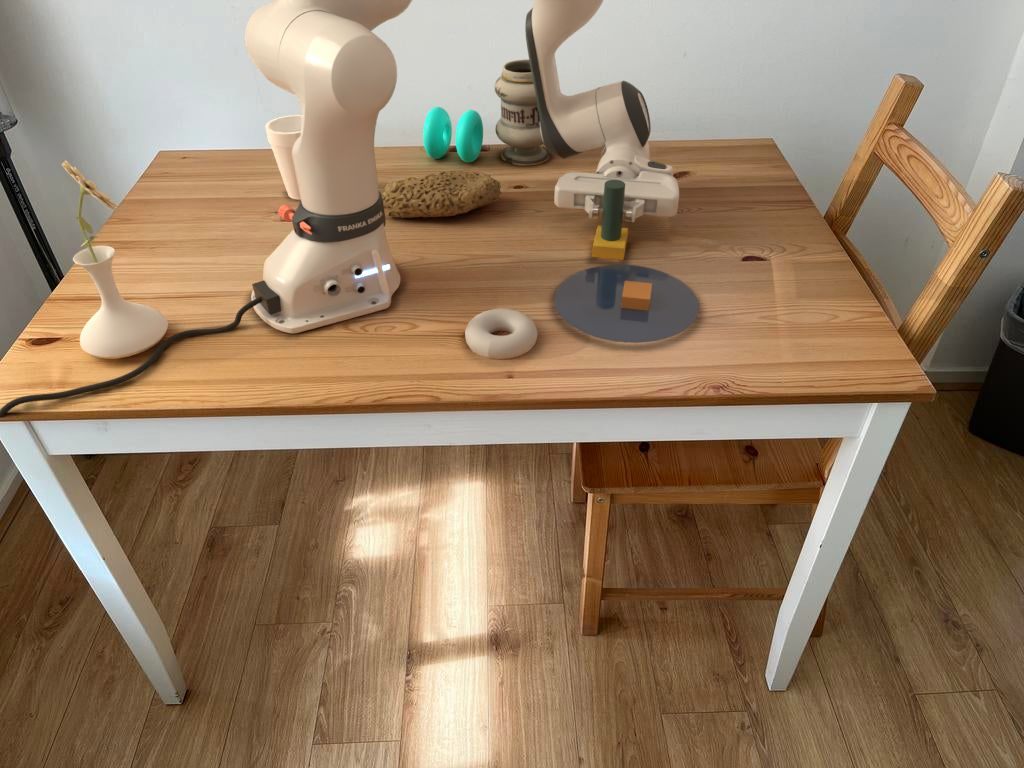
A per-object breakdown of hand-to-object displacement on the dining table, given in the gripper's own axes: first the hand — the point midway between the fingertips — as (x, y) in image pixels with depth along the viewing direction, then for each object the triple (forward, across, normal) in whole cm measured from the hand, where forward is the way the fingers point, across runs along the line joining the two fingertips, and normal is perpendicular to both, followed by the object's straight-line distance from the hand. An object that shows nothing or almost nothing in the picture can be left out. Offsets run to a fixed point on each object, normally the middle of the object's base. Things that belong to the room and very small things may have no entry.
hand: (611, 216), depth 121 cm
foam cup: (-13, -59, +7) cm, 61 cm away
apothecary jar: (-38, -21, +7) cm, 44 cm away
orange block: (+14, +6, +6) cm, 17 cm away
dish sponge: (-1, 0, +7) cm, 7 cm away
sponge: (-11, -31, +7) cm, 33 cm away
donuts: (-34, -35, +7) cm, 49 cm away
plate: (+15, +4, +7) cm, 17 cm away
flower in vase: (+36, -64, +7) cm, 74 cm away
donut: (+27, -12, +7) cm, 31 cm away
